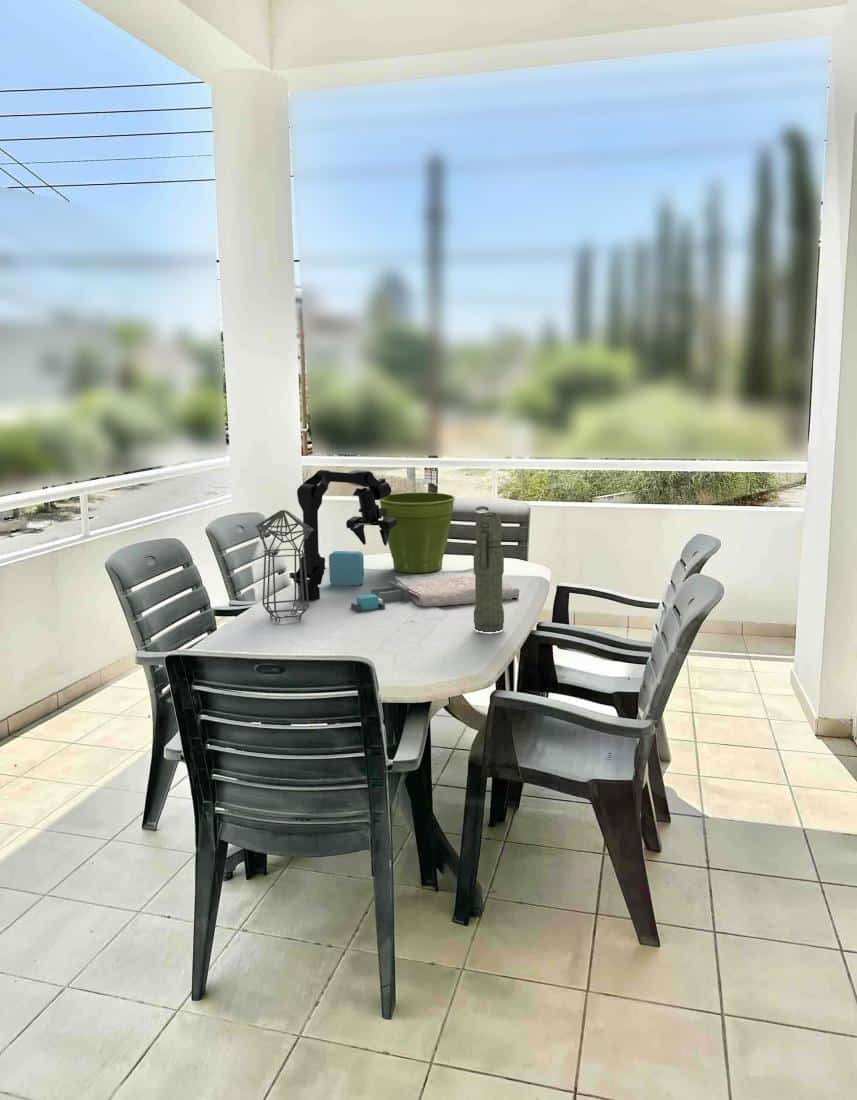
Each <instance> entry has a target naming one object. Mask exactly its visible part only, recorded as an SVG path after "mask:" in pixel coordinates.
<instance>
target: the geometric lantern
mask: <svg viewBox="0 0 857 1100" xmlns="http://www.w3.org/2000/svg"><path fill="white" fill-rule="evenodd" d="M287 516H289V518H291V520H293V521H294V522H295V523H291V524H290V523H289V522H288V518H287ZM283 522H284V523H283ZM276 523H277V524H276ZM303 523H304V522H303V520H301V519H300V518H298V517H297V516H296V515H294V514H293V513H291V512H290V511H288V510H285V509H282V510H279V511H277V512H276V513H274V514H273V515H270V516H269V517H267V518H266V519H264V520H263V521H261V522H259V523H257V524H256V525H255V527H254V528H256V529H257V531H258V533H259V536H260V537H259V539H260V540H262V541H261V542H262V545H263V548H264V551H263V552H264V554H263V555H264V556H263V582H262V583H263V584H262V601H261V602H262V604H261V605H262V606H263V608H264V610H266V612H267V613H268V614H269V619H270V618H272V617H275V618H274V619H275V623H276V622H278V623H279V622H280V623H281V619H283V618H297V617H298V618H299V619H298V621H299V620H301V619H302V617H303V616H302V615H303V614H304V613H305V612H306V611H307V610H309V609H310V601H309V600H308V587H307V579H308V578H307V574H306V561H305V553H304V542H305V539H308V536H309V535H310V533H311V532H312V531H313V529H312V528H311V527H309V526H308V525H307V524H305V523H304V524H305V525H306V526H308V527H309V528H307V527H306V526H305V525H304V524H303ZM283 524H284V525H283ZM292 526H293V527H292ZM298 526H301V527H302V530H296V531H294V530H295V529H296V528H297V527H298ZM269 528H270V529H269ZM273 528H274V529H276V530H272V529H273ZM279 528H280V530H279ZM283 528H285V529H284V530H285V531H283ZM287 530H288V531H287ZM308 531H310V532H309V533H308ZM305 533H306V535H305ZM266 534H270V535H272V536H273V540H272V542H271V544H270V546H269V548H268V547H267V544H266V543H267V542H265V535H266ZM293 534H299V535H297V536H295V537H294V538H293ZM303 534H304V535H303ZM288 535H290V539H289V538H288ZM302 536H303V537H302ZM284 537H285V538H286V539H287V540H284ZM300 537H302V540H301V543H300V545H299V547H297V545H296V543H295V540H297V539H299V538H300ZM276 539H277V540H279V542H280V543H279V544H278V545H277V547H276V549H272V547H273V546H274V542H275V540H276ZM282 543H284V544H285V543H290V545H291V546H292V547H293V548H281V549H279V548H280V546H281V544H282ZM301 548H302V550H301ZM293 550H294V554H286V555H285V554H283V555H275V553H276V552H277V551H278V552H279V551H280V552H281V551H293ZM271 552H273V553H272V554H271ZM297 553H298V554H297ZM267 556H268V561H267ZM302 556H303V558H304V571H305V584H306V597H307V601H304V591H303V578H302V565H301V558H302ZM277 557H278V558H279V557H280V558H281V557H283V558H284V557H294V576H295V583H294V599H290V600H279V601H278V600H277V601H276V576H275V575H276V573H275V572H276V571H275V558H277ZM297 557H298V564H299V567H300V581H301V595H302V601H300V600H297V583H296V572H297ZM271 559H272V582H273V601H270V578H271V577H270V574H271V573H270V572H271ZM267 563H268V564H267ZM299 567H298V568H299ZM266 568H267V569H266ZM266 571H267V589H266ZM265 592H267V593H265ZM265 594H267V596H265ZM265 597H266V602H265ZM278 603H279V604H280V603H282V604H283V603H293V605H292V608H291V609H279V610H277V604H278ZM296 603H299V604H298V606H297V607H296V608H295V604H296ZM271 604H273V607H274V608H273V609H271V607H270V605H271ZM301 605H302V608H300V606H301ZM294 608H295V609H294ZM285 612H291V613H290V615H296V614H298V615H296V616H287V615H283V616H284V617H280V616H279V615H278V613H285ZM293 612H294V614H293ZM274 613H275V614H276V615H275V614H274ZM301 621H302V620H301Z"/></svg>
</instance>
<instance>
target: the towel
mask: <svg viewBox="0 0 857 1100" xmlns="http://www.w3.org/2000/svg"><path fill="white" fill-rule="evenodd" d="M394 579H395V581H394V582H395V583H397V584H399V585H401V586H403V587H405V588H407V589H409V600H411V601H413V602H414V603H415V604H416V605H417V606H420V607H425V608H426V607H447V606H446V605H450V606H457V605H458V606H460V605H459V604H464V605H469V604H468V603H473V604H476V603H475V574H474V567H471V568H467V569H461V570H444V571H438V572H437V571H436V572H434V573H433V572H431V573H422V574H414V575H403V576H395V577H394ZM511 598H517V599H519V598H520V589H519V588H518V587H515V585H513V584H511V583H508V582H506V581H504V580H502V599H509V600H512V599H511Z"/></svg>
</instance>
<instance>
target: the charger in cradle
mask: <svg viewBox="0 0 857 1100" xmlns="http://www.w3.org/2000/svg"><path fill="white" fill-rule="evenodd" d="M350 608H351V609H352V610H354V611H356V612H357V613H367V612H375V611H380V610H385V609H386V604H385V603H384V602H383V603H380V604H379V608H378V609H372V610H365V611H362V608H361V607H360V606H358V605H357V603H355V602H351V603H350Z"/></svg>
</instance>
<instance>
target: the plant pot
mask: <svg viewBox="0 0 857 1100" xmlns="http://www.w3.org/2000/svg"><path fill="white" fill-rule="evenodd" d="M455 499H456V496H454V495H452V494H450V493H440V492H401V493H391V494H390V495H389V496H386V497H384V498H382V499H380V500H378V501H379V503H380V508H387V517H394V518H395V519H396V521H397V525H395V526H394V527H393V528H391V530H390V532H389V536H388V541H387V545H388V548H389V550H390V555H391V558H392V561H393V569H394V570H396V571H398V572H401V573H406V574H407V573H408V574H428V573H433V572H437V571H439V570H441V569H442V568H443V558H444V555H445V552H446V551H445V550H446V547H447V545H448V544H447V542H448V538H449V535H450V534H449V533H450V529H451V523H452V522H451V521H452V514H453V512H454V501H455ZM384 518H386V517H384V516H382V520H383V519H384Z"/></svg>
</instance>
